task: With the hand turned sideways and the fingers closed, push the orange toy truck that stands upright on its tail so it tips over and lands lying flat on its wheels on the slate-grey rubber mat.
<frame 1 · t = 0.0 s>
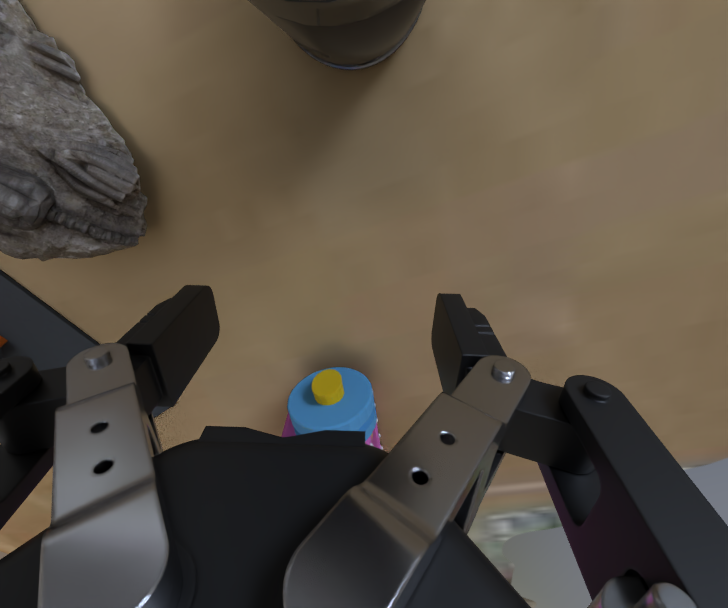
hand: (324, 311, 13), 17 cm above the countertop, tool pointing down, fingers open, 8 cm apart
toy: (347, 439, 41), on the countertop
fossil: (29, 116, 25), on the countertop
mat: (20, 363, 36), on the countertop
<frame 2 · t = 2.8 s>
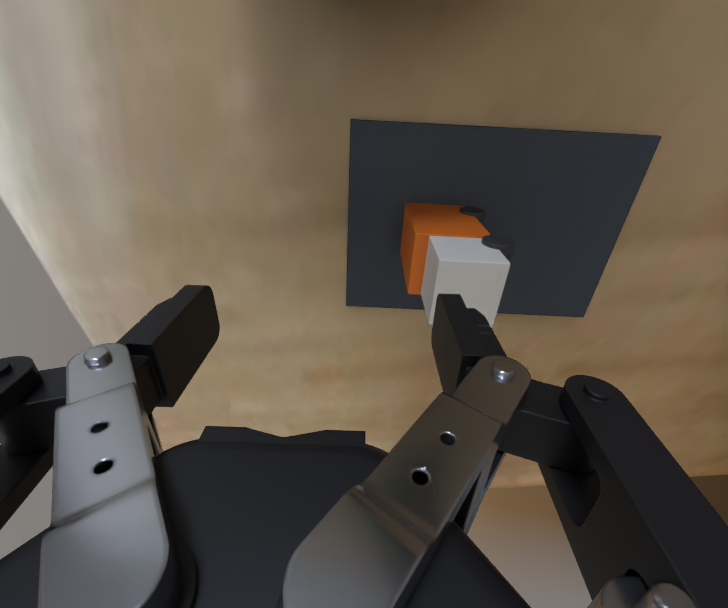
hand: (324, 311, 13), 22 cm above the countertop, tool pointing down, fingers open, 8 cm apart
truck: (431, 230, 34), resting on mat
mat: (482, 230, 34), on the countertop
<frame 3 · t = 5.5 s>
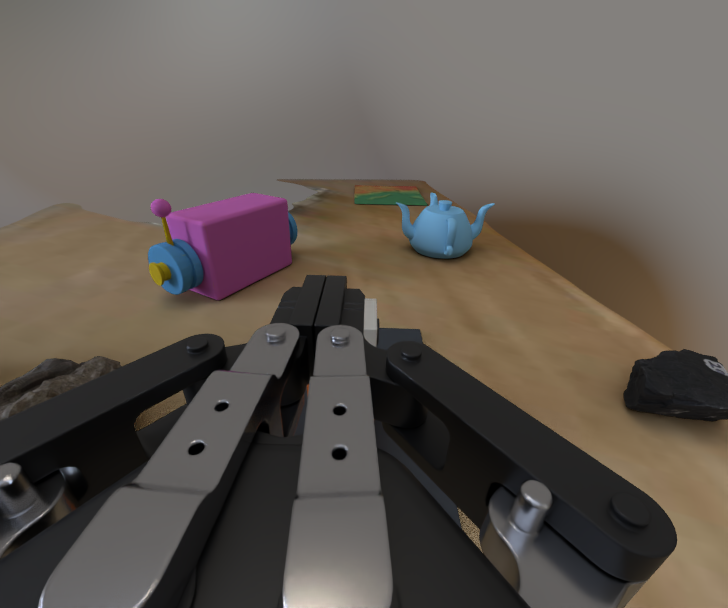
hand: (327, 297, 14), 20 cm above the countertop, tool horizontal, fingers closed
truck: (344, 436, 32), resting on mat
toy: (241, 276, 62), on the countertop
fossil: (40, 498, 27), on the countertop
mat: (347, 399, 36), on the countertop
teapot: (437, 249, 76), on the countertop
terrain model: (388, 195, 118), on the countertop
rock: (667, 408, 37), on the countertop
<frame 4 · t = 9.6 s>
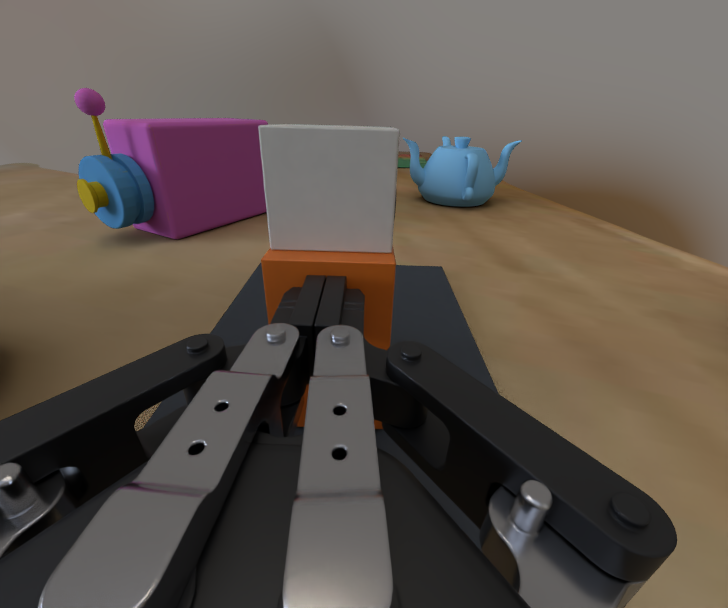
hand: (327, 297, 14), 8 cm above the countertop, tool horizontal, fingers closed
truck: (336, 388, 19), resting on mat, touching gripper
toy: (211, 219, 49), on the countertop
mat: (342, 343, 24), on the countertop
teapot: (451, 200, 64), on the countertop
terrain model: (390, 161, 106), on the countertop
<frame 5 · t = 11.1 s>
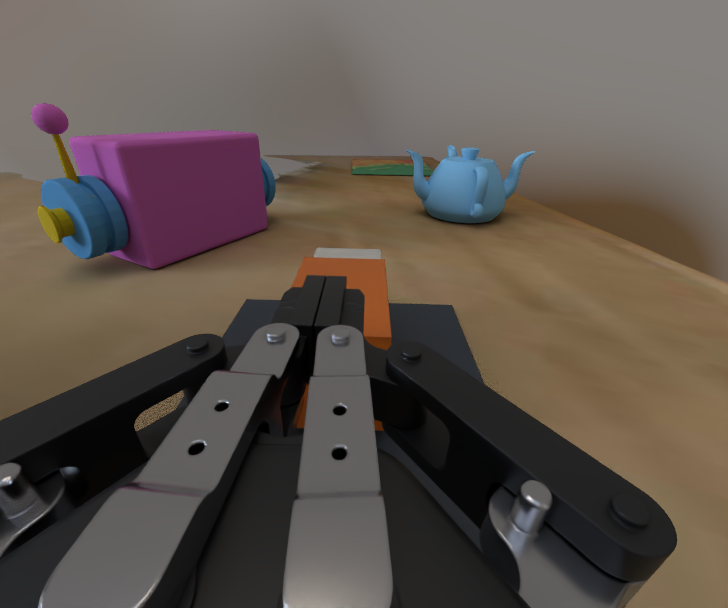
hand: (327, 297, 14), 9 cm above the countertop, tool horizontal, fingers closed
truck: (332, 386, 16), point 4 cm above the countertop, tilted 90°, touching mat
toy: (196, 242, 45), on the countertop
mat: (336, 420, 20), on the countertop
teapot: (458, 214, 59), on the countertop
terrain model: (391, 168, 102), on the countertop
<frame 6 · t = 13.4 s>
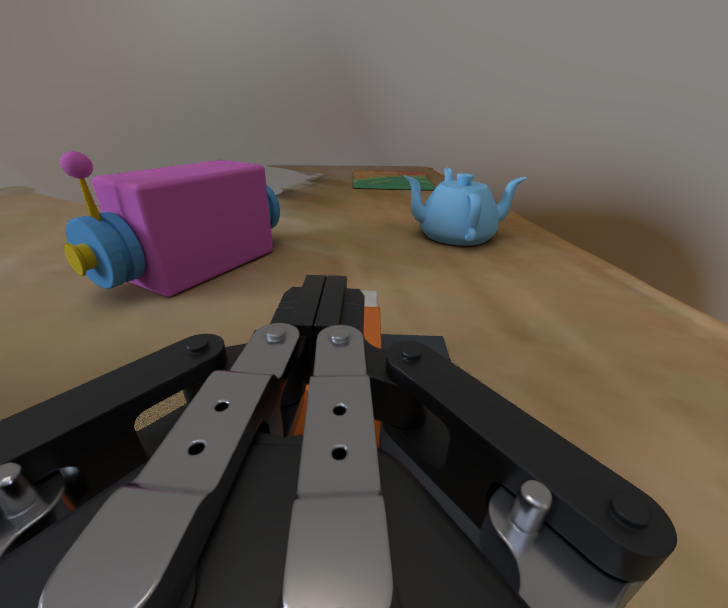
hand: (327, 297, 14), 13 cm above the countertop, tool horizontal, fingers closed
truck: (333, 430, 19), point 4 cm above the countertop, tilted 90°, touching mat
toy: (206, 266, 48), on the countertop
mat: (336, 452, 23), on the countertop
teapot: (453, 235, 62), on the countertop
terrain model: (391, 180, 105), on the countertop
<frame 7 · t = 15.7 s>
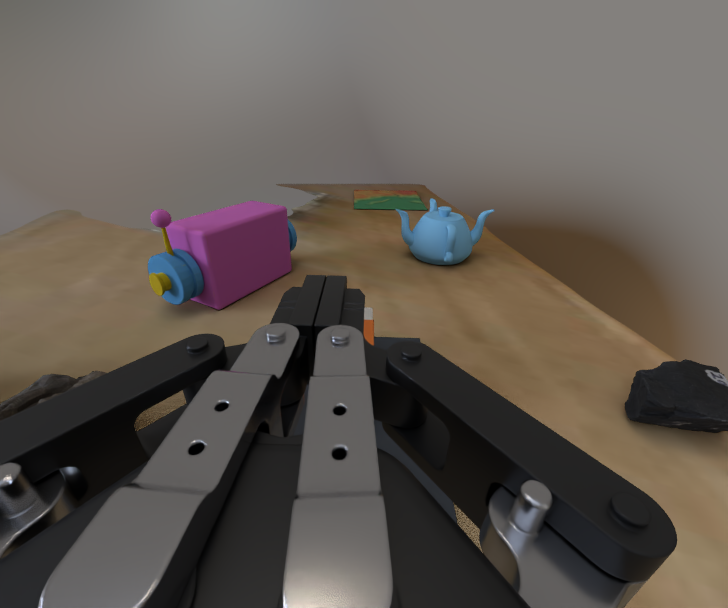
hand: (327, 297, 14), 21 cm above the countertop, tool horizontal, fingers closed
truck: (345, 393, 32), point 4 cm above the countertop, tilted 90°, touching mat
toy: (241, 284, 61), on the countertop
fossil: (37, 516, 27), on the countertop
mat: (346, 411, 36), on the countertop
teapot: (437, 255, 76), on the countertop
terrain model: (387, 200, 118), on the countertop
rock: (669, 418, 37), on the countertop
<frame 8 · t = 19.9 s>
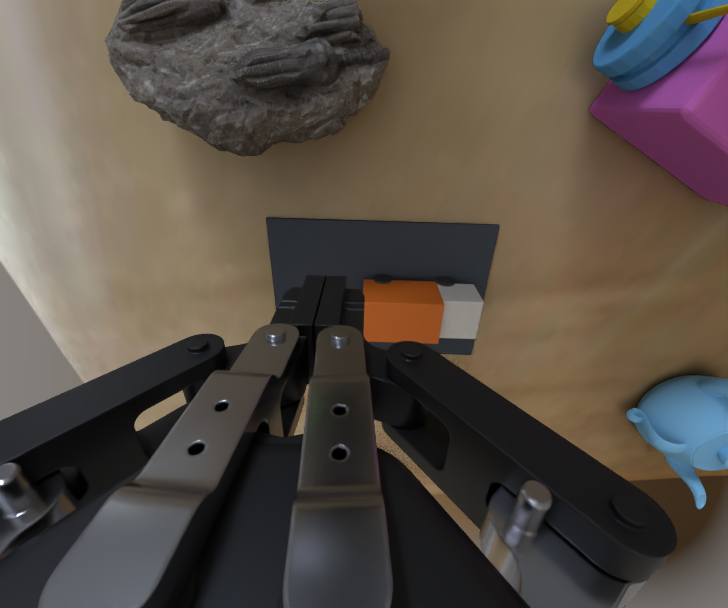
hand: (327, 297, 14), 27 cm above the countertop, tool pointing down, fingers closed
truck: (362, 309, 40), point 4 cm above the countertop, tilted 90°, touching mat
toy: (685, 114, 34), on the countertop
fossil: (269, 72, 33), on the countertop
mat: (378, 292, 44), on the countertop
teapot: (680, 400, 52), on the countertop
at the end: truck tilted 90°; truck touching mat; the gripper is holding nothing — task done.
